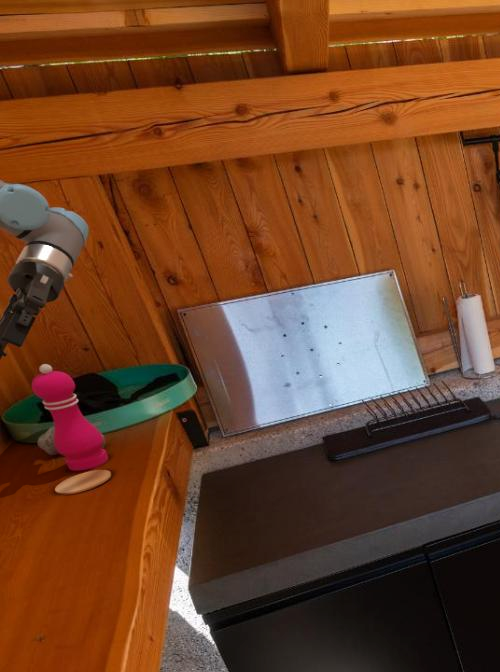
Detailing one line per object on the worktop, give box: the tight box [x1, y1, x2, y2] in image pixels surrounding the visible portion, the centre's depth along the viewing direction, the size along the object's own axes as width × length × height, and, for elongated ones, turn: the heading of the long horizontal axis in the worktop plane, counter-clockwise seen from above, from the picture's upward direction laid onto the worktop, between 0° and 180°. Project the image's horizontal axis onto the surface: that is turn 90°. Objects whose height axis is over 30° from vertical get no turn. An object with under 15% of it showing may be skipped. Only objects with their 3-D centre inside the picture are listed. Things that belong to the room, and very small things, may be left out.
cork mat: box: [54, 469, 112, 496], centre depth 138 cm, size 8×8×1 cm
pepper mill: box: [31, 363, 109, 472], centre depth 140 cm, size 7×7×20 cm
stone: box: [37, 425, 106, 456], centre depth 149 cm, size 10×5×8 cm
